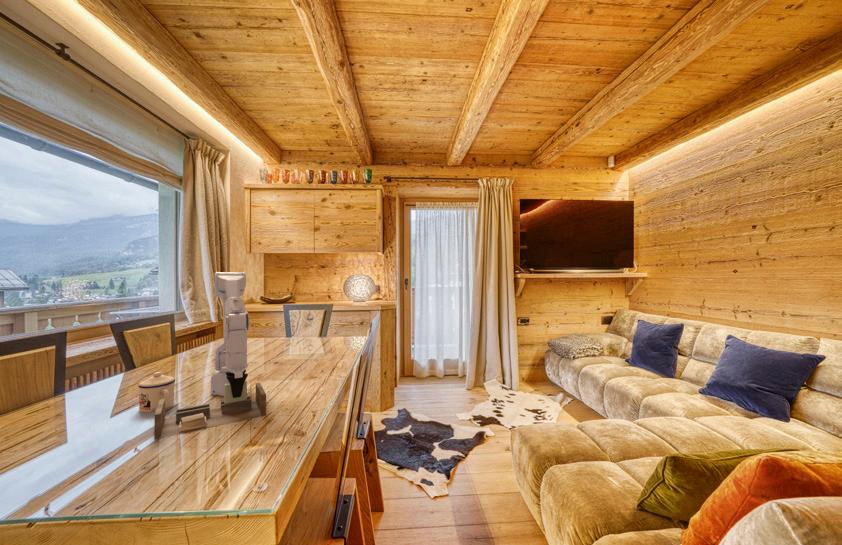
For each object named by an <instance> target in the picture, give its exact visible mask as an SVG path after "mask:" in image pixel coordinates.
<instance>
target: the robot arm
mask: <svg viewBox="0 0 842 545" xmlns="http://www.w3.org/2000/svg"><path fill="white" fill-rule="evenodd" d="M213 276H214V278H213V279H214V294H215V296H216V297H218V298H220V299H221V303H222V315H223V316H222V319H223V320H222V321H223V322H222V323H223V326H222V327H223V342H222V343H221V344H219V346H216V349H215V350H214V359H213V360H214V361H213V362H214V370H215V371H214V372H213V373H212V374H211V377H210V395H214V396H221V397H224V384H229V383H230V386H231V391H232V396H233V398H237V397H241V395H242V390H243V385H244V382H245V381H247V378H248V376H249V374H248V373H246V372H247V368H248V366H249V364H248V331H249V329H250V315H249V312H248V311H247V310H246V307H245V301H244V299H243V298H242V296H243V295H244V294H245V289H246V287H247V286H246V285H247V275H246V273H245V271H241V272H239V271H238V272H237V271H236V272H230V271H228V272H227V271H223V272H219V271H215V273H214V275H213Z"/></svg>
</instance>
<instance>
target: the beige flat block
mask: <svg viewBox="0 0 842 545" xmlns="http://www.w3.org/2000/svg"><path fill="white" fill-rule="evenodd" d="M223 397H224V398H223V399H224V400H223V401H224V404H227V403H232V402H237V401H243V400H247V397H248V381H247V380H245V382H244V385H243V390H242V395H241V397H237V398H233V396H232V391H231V386H230V383H229V384H224V396H223Z"/></svg>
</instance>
